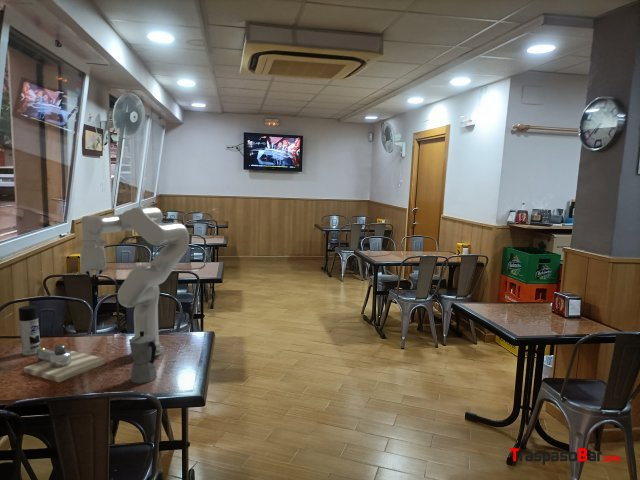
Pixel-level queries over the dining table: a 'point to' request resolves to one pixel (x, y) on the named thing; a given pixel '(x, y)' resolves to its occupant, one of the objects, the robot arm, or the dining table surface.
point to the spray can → (29, 330)
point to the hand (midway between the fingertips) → (94, 285)
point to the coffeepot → (143, 358)
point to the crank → (55, 355)
